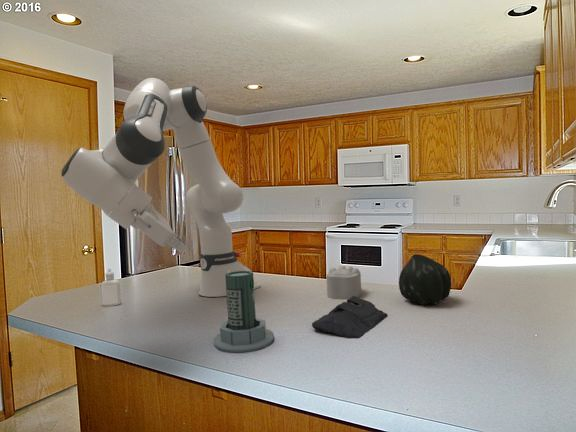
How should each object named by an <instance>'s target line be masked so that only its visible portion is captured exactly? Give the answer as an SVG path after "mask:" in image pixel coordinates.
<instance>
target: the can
mask: <svg viewBox="0 0 576 432" xmlns="http://www.w3.org/2000/svg"><path fill="white" fill-rule="evenodd" d="M225 277H226V293H227V296H226V306H227V307H226V309H227V321H228V326H229V329H232V330H248V329H251V328H254V327H256V318H257V317H256V315H257V314H256V302H255V301H256V300H255V299H256V297H255V289H254V282H255V279H254V280H253V278H254V272H253V271H252V272H250V271H235V272H230V273H227V274H225Z"/></svg>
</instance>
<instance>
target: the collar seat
mask: <svg viewBox="0 0 576 432" xmlns="http://www.w3.org/2000/svg"><path fill="white" fill-rule="evenodd" d="M266 327H267V326H266V320H265V319H262V318H260V317H259V318H258V317H256V327H254V328H251V329H248V330H232V329H229V326H228V320H227V321H223V322H222V324H220V327H219V330H220V331H219V332H220V333H218V334H216V335H215V337H214V338H213V346H214V347H215V349H216V350H218V351H221V352H225V353H235V354H236V353H238V354H239V353H240V354H241V353H250V352H256V351H259V350H262V349H265V348H267V347H269V346H270V345H272V344H273V342H274V341H275V336H274V332H273V331H272V330H271V329H268V328H266Z"/></svg>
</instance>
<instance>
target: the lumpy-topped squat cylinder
mask: <svg viewBox="0 0 576 432" xmlns="http://www.w3.org/2000/svg"><path fill="white" fill-rule="evenodd" d="M361 274H362V273H361V271H360V270H359V268H357V267H356V268H355V267H353V266H348V267H347V268H346V267H345V266H343V265H341V266H339V268H338V269H336V268H335V267H331V268H330V269H329V272H328V273H327V274H326V293H327V298H329V299H331V300H332V299H333V300H337V299H339V300H348V299H350V298H351V297H352V296H356V297H358V298H360V296H361V295H362V282H361V281H362V280H361V277H362V275H361Z"/></svg>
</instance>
